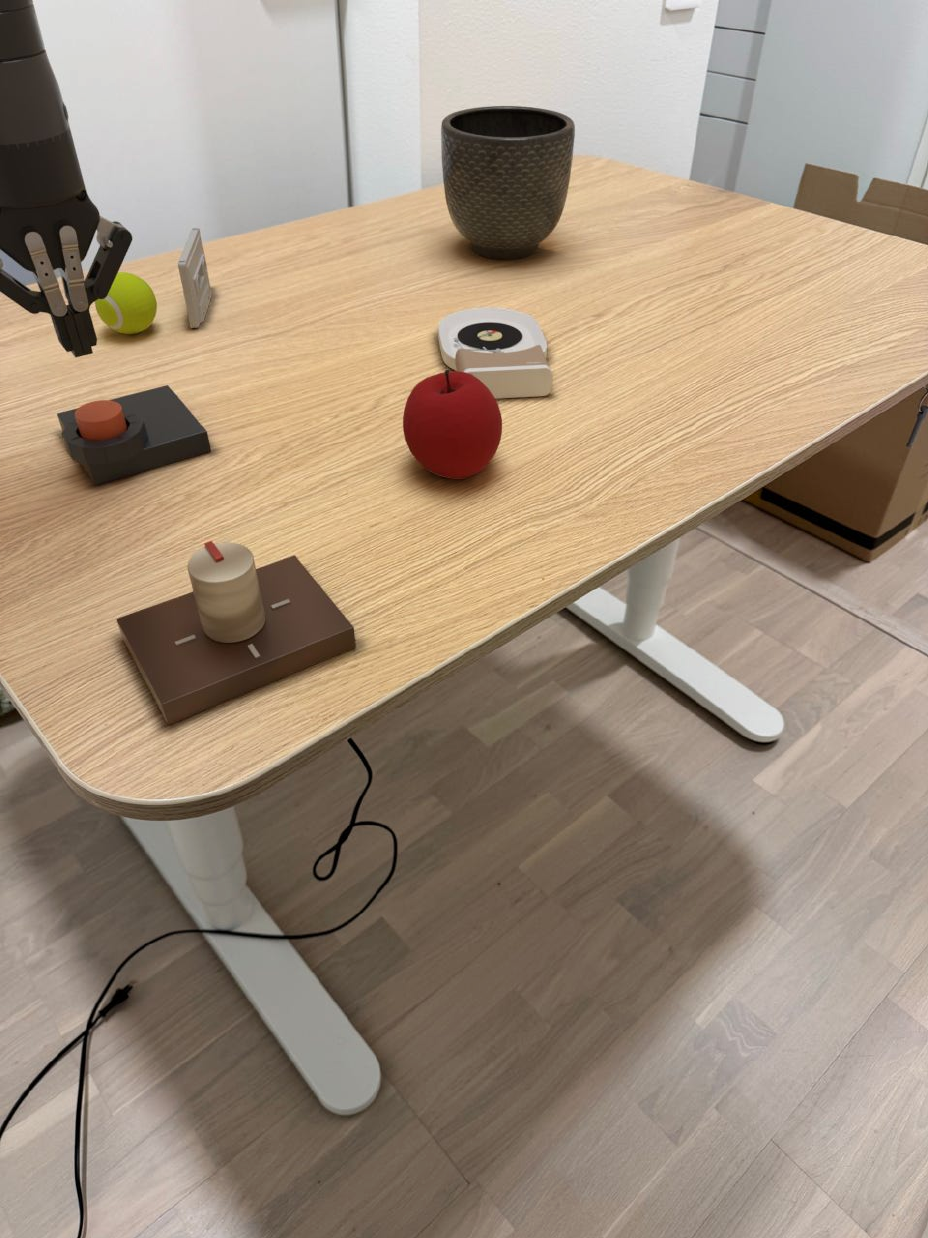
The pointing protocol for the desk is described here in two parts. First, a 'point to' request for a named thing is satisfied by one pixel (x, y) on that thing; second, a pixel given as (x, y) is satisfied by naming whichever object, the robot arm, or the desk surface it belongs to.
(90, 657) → the desk surface
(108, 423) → the button
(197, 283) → the cassette
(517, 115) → the planter
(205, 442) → the button box
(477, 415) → the apple
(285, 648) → the dial panel
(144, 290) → the tennis ball
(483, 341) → the record player
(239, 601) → the dial
